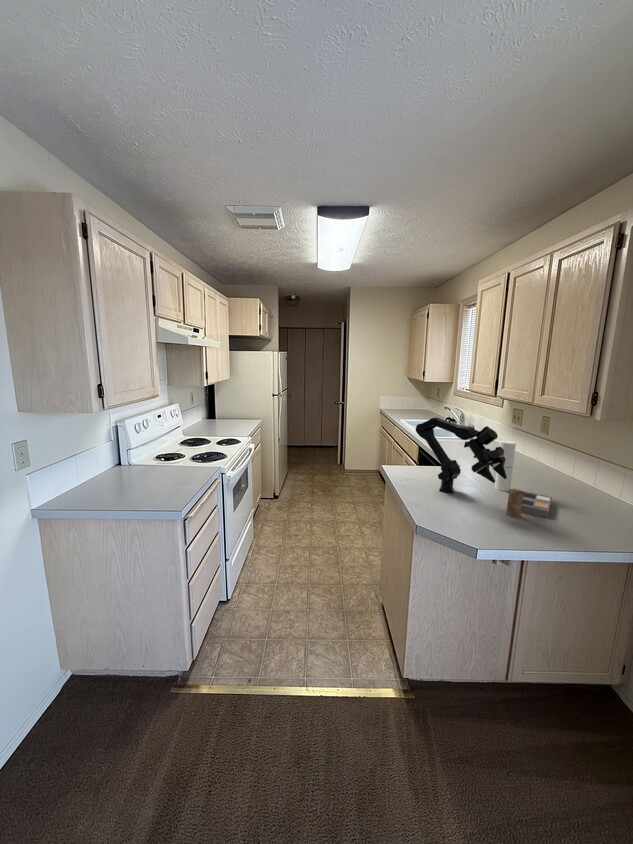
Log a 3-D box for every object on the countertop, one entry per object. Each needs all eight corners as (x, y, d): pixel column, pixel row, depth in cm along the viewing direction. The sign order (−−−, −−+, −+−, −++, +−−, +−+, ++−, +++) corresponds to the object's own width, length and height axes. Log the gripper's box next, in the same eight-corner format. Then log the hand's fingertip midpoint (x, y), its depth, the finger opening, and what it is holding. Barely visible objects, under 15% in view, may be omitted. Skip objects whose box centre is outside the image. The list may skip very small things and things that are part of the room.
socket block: (510, 509, 155) (511, 502, 155) (516, 495, 171) (517, 489, 170) (547, 517, 147) (548, 510, 146) (550, 503, 163) (551, 496, 162)
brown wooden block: (506, 514, 150) (509, 490, 148) (511, 512, 152) (514, 488, 150) (515, 518, 146) (518, 493, 144) (520, 515, 149) (523, 491, 147)
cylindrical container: (512, 491, 176) (518, 443, 172) (496, 490, 177) (502, 443, 173) (507, 486, 183) (513, 440, 178) (492, 485, 184) (498, 439, 180)
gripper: (480, 443, 149) (503, 475, 142) (504, 438, 159) (526, 468, 152) (462, 456, 157) (482, 487, 150) (486, 451, 167) (506, 480, 160)
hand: (500, 480), depth 153 cm, fingers open, 9 cm apart
